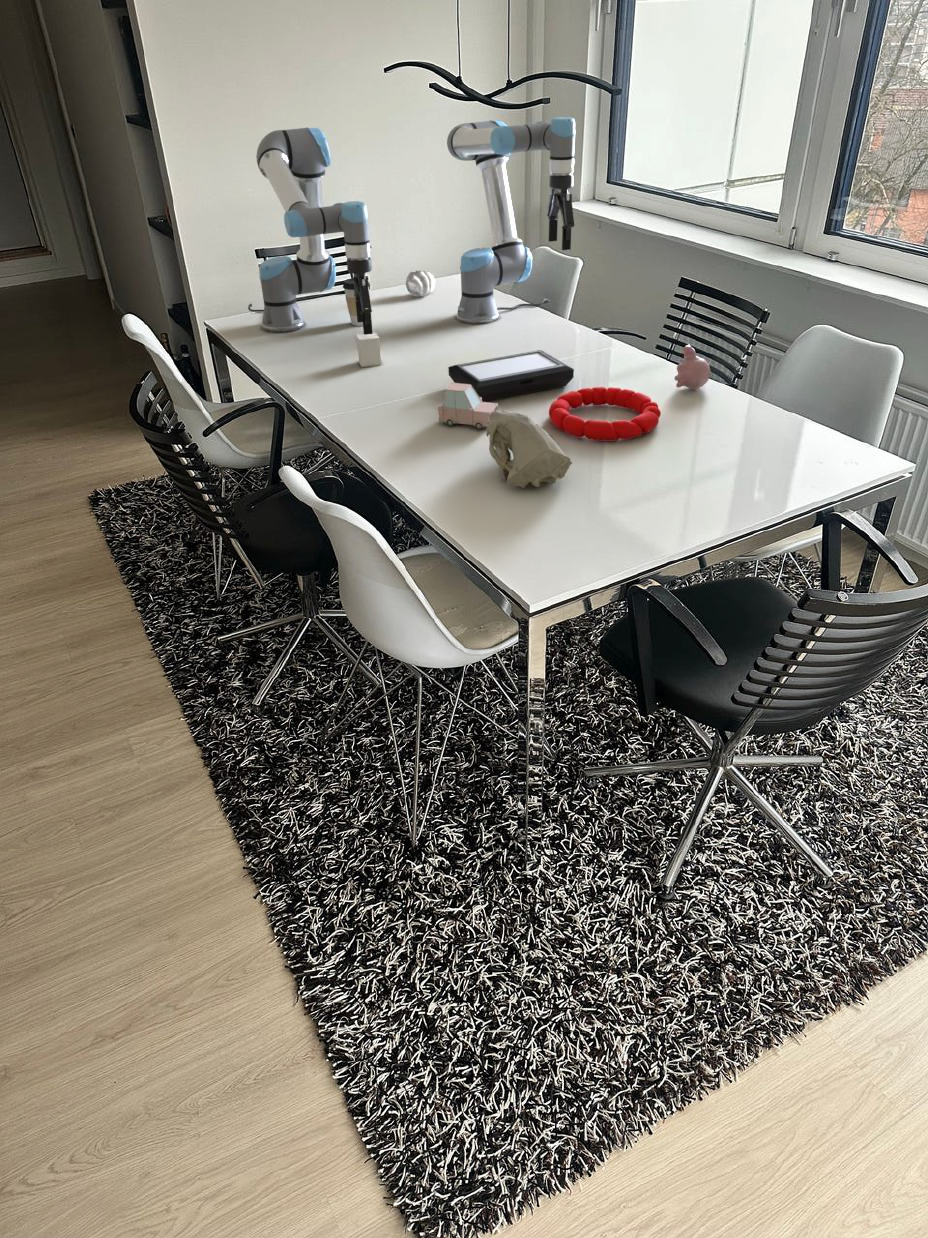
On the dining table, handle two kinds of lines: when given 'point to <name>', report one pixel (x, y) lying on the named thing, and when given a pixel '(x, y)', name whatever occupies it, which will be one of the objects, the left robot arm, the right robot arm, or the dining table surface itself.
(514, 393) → the electronic device
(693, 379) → the figurine
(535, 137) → the right robot arm
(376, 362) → the block
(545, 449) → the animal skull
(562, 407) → the decorative ring
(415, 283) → the seashell
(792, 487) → the dining table surface
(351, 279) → the coffee cup
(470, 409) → the toy car
